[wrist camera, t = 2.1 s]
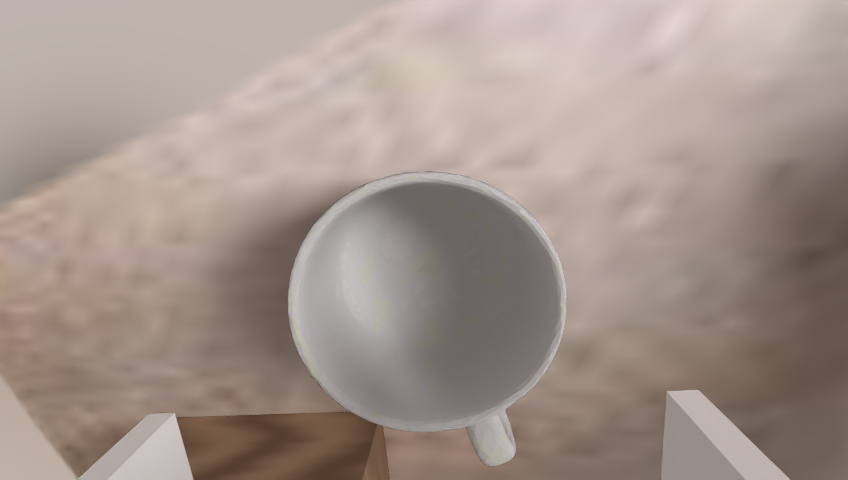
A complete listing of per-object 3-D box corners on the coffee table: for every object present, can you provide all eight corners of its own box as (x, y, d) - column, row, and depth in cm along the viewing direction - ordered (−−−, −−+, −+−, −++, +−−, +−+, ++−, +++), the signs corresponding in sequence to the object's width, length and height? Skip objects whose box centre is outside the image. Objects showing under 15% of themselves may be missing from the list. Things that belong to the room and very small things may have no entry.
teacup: (318, 187, 22) (246, 212, 14) (510, 140, 21) (545, 139, 13) (383, 398, 25) (352, 513, 17) (553, 369, 24) (602, 479, 16)
